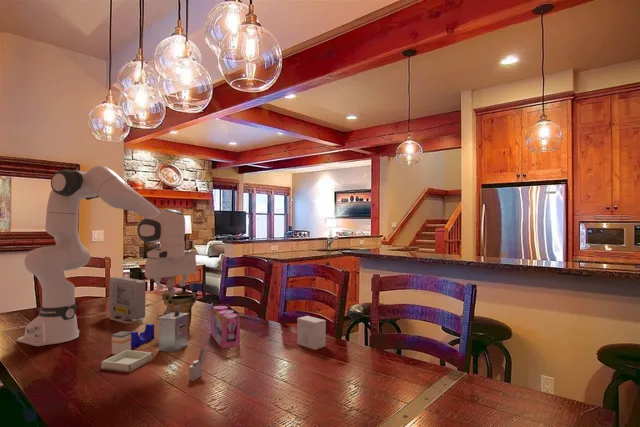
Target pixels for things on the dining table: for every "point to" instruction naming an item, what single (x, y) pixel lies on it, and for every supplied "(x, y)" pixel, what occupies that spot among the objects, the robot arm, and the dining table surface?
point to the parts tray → (127, 360)
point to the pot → (181, 303)
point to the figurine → (171, 292)
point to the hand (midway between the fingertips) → (171, 287)
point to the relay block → (121, 342)
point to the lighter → (197, 366)
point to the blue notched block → (142, 336)
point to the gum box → (225, 325)
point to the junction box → (173, 331)
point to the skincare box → (311, 332)
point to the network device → (127, 299)
